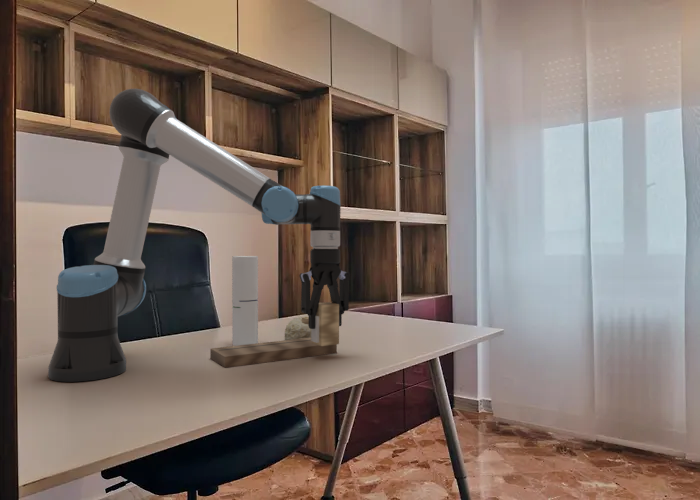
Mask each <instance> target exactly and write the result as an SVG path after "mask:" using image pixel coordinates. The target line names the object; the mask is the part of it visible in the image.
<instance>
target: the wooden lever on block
mask: <svg viewBox="0 0 700 500" xmlns="http://www.w3.org/2000/svg"><path fill="white" fill-rule="evenodd" d="M316 315H317V316H319V343H316V342H313V341H312V343H314V344H316V345H319V346H328V345H336V344H337V345H339V344H340V326H339V304H336V303H332V302H330V301H329V302H328V301H327V302H319V305H318V309H317V314H316ZM302 323H304V324H308V325H309V316H304V317H302Z"/></svg>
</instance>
